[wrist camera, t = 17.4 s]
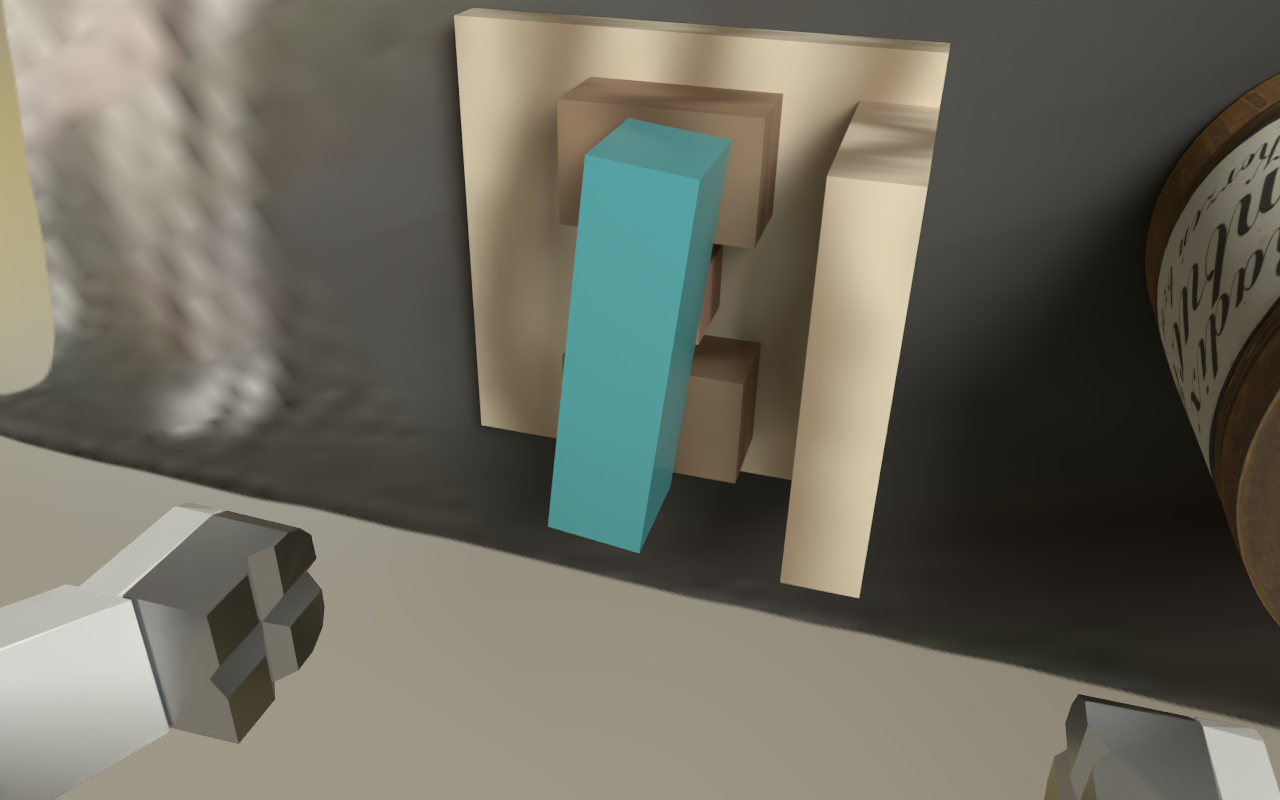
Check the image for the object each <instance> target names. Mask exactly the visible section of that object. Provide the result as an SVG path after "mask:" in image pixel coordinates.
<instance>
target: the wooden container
mask: <svg viewBox="0 0 1280 800" xmlns="http://www.w3.org/2000/svg"><path fill="white" fill-rule="evenodd" d="M1145 273H1146V282H1147V288H1148V293H1149V297H1150V301H1151V305H1152V309H1153V312H1154V316H1155V319H1156V323H1157V326H1158V329H1159V333H1160V337H1161V341H1162V344H1163V347H1164V351H1165V354H1166V357H1167V360H1168V363H1169V367H1170V370H1171V373H1172V376H1173V379H1174V382H1175V384H1176V387H1177V390H1178V392H1179V395H1180V397H1181V400H1182V403H1183V405H1184V408H1185V411H1186V413H1187V416H1188V418H1189V421H1190V423H1191V426H1192V428H1193V430H1194V432H1195V435H1196V437H1197V440H1198V443H1199V445H1200V448H1201V450H1202V453H1203V456H1204V459H1205V461H1206V464H1207V467H1208V469H1209V472H1210V474H1211V477H1212V479H1213V482H1214V485H1215V487H1216V490H1217V492H1218V494H1219V497H1220V499H1221V502H1222V504H1223V508H1224V511H1225V515H1226V518H1227V521H1228V524H1229V527H1230V530H1231V533H1232V536H1233V539H1234V542H1235V545H1236V547H1237V550H1238V552H1239V555H1240V558H1241V560H1242V563H1243V565H1244V567H1245V570H1246V572H1247V574H1248V576H1249V578H1250V580H1251V582H1252V584H1253V586H1254V588H1255V590H1256V592H1257V594H1258V596H1259V598H1260V599H1261V601H1262V603H1263V604H1264V606H1265V607H1266V609H1267V610H1268V612H1269V613H1270V614H1271V616H1272V617H1273V619H1274V620H1275V621H1276V622H1277V623H1278V625H1279V626H1280V74H1278V75H1276V76H1274V77H1272V78H1270V79H1269V80H1267V81H1265V82H1263V83H1262V84H1260V85H1259V86H1257V87H1256V88H1254V89H1252V90H1251V91H1249V92H1248V93H1247V94H1245V95H1244V96H1243V97H1241V98H1240V99H1239V100H1237V101H1236V102H1235V103H1234V104H1232V105H1231V106H1230V107H1229V108H1227V109H1226V110H1225V111H1224V112H1223V113H1221V114H1220V115H1219V116H1218V117H1217V118H1216V119H1215V120H1214V121H1213V122H1212V123H1211V124H1210V125H1209V126H1208V127H1207V128H1206V129H1205V130H1204V131H1203V132H1202V133H1201V134H1200V135H1199V136H1198V137H1197V138H1196V139H1195V141H1194V142H1193V143H1192V145H1191V146H1190V147H1189V148H1188V150H1187V151H1186V152H1185V153H1184V155H1183V156H1182V157H1181V158H1180V160H1179V161H1178V163H1177V164H1176V166H1175V168H1174V169H1173V171H1172V172H1171V174H1170V176H1169V177H1168V179H1167V181H1166V183H1165V185H1164V187H1163V189H1162V191H1161V193H1160V195H1159V198H1158V200H1157V202H1156V205H1155V208H1154V211H1153V214H1152V218H1151V222H1150V227H1149V231H1148V237H1147V243H1146V251H1145Z"/></svg>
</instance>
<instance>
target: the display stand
mask: <svg viewBox="0 0 1280 800" xmlns="http://www.w3.org/2000/svg"><path fill="white" fill-rule="evenodd" d="M454 22H455V37H456V52H457V67H458V82H459V97H460V111H461V126H462V141H463V156H464V171H465V186H466V201H467V216H468V231H469V246H470V260H471V275H472V290H473V305H474V320H475V335H476V350H477V365H478V380H479V394H480V409H481V424H482V425H484V426H490V427H495V428H501V429H506V430H512V431H518V432H523V433H529V434H535V435H540V436H546V437H552V438H557V430H558V420H559V411H560V401H561V391H562V381H563V371H564V361H565V351H566V341H567V331H568V321H569V311H570V301H571V291H572V281H573V271H574V261H575V251H576V241H577V231H578V221H579V211H580V201H581V191H582V181H583V171H584V161H585V154H587V153H588V152H589V151H590V150H591V149H592V148H594V147H595V146H596V145H597V144H598V143H600V142H601V141H602V140H603V139H604V138H605V137H607V136H608V135H609V134H610V133H611V132H613V131H614V130H615V129H616V128H617V127H618V126H620V125H621V124H622V123H623V122H624V121H626V120H627V119H628V118H631V119H636V120H640V121H645V122H650V123H654V124H659V125H664V126H669V127H673V128H678V129H683V130H687V131H692V132H697V133H701V134H706V135H711V136H715V137H720V138H725V139H729V140H732V141H731V146H730V152H729V158H728V163H727V169H726V175H725V180H724V186H723V192H722V197H721V203H720V209H719V214H718V220H717V226H716V231H715V237H714V243H713V248H712V254H711V260H710V265H709V271H708V277H707V282H706V288H705V294H704V299H703V305H702V311H701V316H700V322H699V328H698V333H697V339H696V345H695V350H694V356H693V362H692V367H691V373H690V379H689V384H688V390H687V396H686V401H685V407H684V413H683V418H682V424H681V430H680V435H679V441H678V447H677V452H676V458H675V464H674V469H673V472H674V473H680V474H685V475H691V476H696V477H702V478H707V479H713V480H719V481H724V482H730V483H736V480H737V478H738V475H739V472H740V471H743V472H749V473H755V474H760V475H766V476H771V477H777V478H783V479H788V480H792V484H791V493H790V502H789V510H788V519H787V528H786V536H785V545H784V554H783V562H782V571H781V580H780V582H781V583H786V584H791V585H796V586H801V587H806V588H811V589H816V590H821V591H826V592H831V593H836V594H841V595H846V596H851V597H855V598H859V595H860V589H861V583H862V577H863V571H864V565H865V559H866V553H867V548H868V542H869V536H870V530H871V524H872V518H873V512H874V506H875V500H876V494H877V488H878V482H879V476H880V470H881V464H882V458H883V452H884V446H885V440H886V434H887V428H888V422H889V416H890V410H891V404H892V398H893V392H894V386H895V380H896V374H897V368H898V362H899V356H900V350H901V344H902V338H903V332H904V326H905V320H906V314H907V308H908V302H909V296H910V290H911V284H912V278H913V272H914V266H915V260H916V254H917V248H918V242H919V236H920V230H921V224H922V218H923V212H924V206H925V200H926V194H927V188H928V181H929V175H930V168H931V162H932V155H933V149H934V142H935V136H936V129H937V123H938V116H939V110H940V103H941V97H942V91H943V85H944V79H945V73H946V67H947V61H948V55H949V49H950V43H941V42H928V41H914V40H901V39H887V38H874V37H860V36H847V35H833V34H820V33H806V32H793V31H779V30H766V29H752V28H739V27H725V26H712V25H698V24H685V23H671V22H658V21H644V20H631V19H617V18H604V17H590V16H577V15H563V14H550V13H536V12H523V11H509V10H496V9H482V8H472V9H470V10H467V11H464V12H462V13H459V14H456V15H454Z"/></svg>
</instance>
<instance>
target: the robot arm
mask: <svg viewBox="0 0 1280 800" xmlns="http://www.w3.org/2000/svg"><path fill="white" fill-rule="evenodd" d="M315 560H316V555H315V550H314V546H313V542H312V537H311V535H310V534H309V533H307V532H305V531H304V530H302V529H300V528H296V527H292V526H288V525H284V524H280V523H276V522H271V521H267V520H263V519H259V518H255V517H250V516H247V515H242V514H238V513H234V512H230V511H221V510H217V509H213V508H209V507H205V506H201V505H197V504H193V503H186V504H182V505H178V506H175V507H174V508H172V509H171V510H170V511H169V512H167V513H166V514H165V515H164V516H163V517H161V519H159V520H158V521H157V522H155V524H153V525H152V526H151V527H150V528H148V529H147V530H146V531H145V532H144V533H142V534H141V535H140V536H139V537H138V538H137V539H135V540H134V541H133V542H132V543H130V545H128V546H127V547H126V548H125V549H123V550H122V551H121V552H120V553H119V554H117V555H116V556H115V557H114V558H113V559H111V560H110V561H109V562H108V563H107V564H106V565H104V566H103V567H102V568H101V569H100V570H98V571H97V572H96V573H95V574H94V575H92V576H91V577H90V578H89V579H88V580H87V581H85V582H84V583H83V584H82V585H80V586H79V587H76V586H72V585H68V584H66V585H64V586H61V587H58V588H55V589H53V590H50V591H47V592H44V593H41V594H38V595H36V596H32V597H30V598H27V599H24V600H21V601H18V602H16V603H13V604H10V605H7V606H4V607H1V608H0V800H53V799H55V798H57V797H59V796H60V795H62V794H64V793H65V792H67V791H69V790H71V789H72V788H74V787H76V786H77V785H79V784H81V783H83V782H84V781H86V780H88V779H89V778H91V777H93V776H95V775H96V774H98V773H100V772H101V771H103V770H105V769H107V768H108V767H110V766H112V765H113V764H115V763H117V762H118V761H120V760H122V759H124V758H125V757H127V756H129V755H131V754H132V753H134V752H136V751H137V750H139V749H141V748H143V747H144V746H146V745H148V744H149V743H151V742H153V741H155V740H156V739H158V738H160V737H161V736H163V735H165V734H167V733H168V732H169V731H170V729H169V727H170V728H175V729H179V730H183V731H187V732H192V733H195V734H200V735H204V736H208V737H213V738H217V739H221V740H225V741H229V742H233V743H238V744H239V743H240V741H241V740H242V739H243V738H244V737H245V736H246V734H247V733H248V732H249V731H250V729H251V728H252V727H253V726H254V724H255V723H256V722H257V721H258V720H259V718H260V717H261V716H262V715H263V713H264V712H265V711H266V710H267V708H268V707H269V706H270V705H271V703H272V702H273V701H274V700H275V687H274V686H275V684H274V682H275V681H277V680H279V679H281V678H283V677H285V676H287V675H289V674H291V673H293V672H296V671H298V670H299V669H300V667H301V666H302V665H303V663H304V662H305V661H306V659H307V658H308V657H309V656H310V654H311V653H312V651H313V650H314V647H315V645H316V642H317V640H318V637H319V634H320V632H321V630H322V627H323V617H324V602H323V595H322V589H321V588H320V587H319V586H318V584H317V583H316V582H315V581H314V579H313V578H312V577H311V576H310V574H309V573H308V572H307V570H308V569H309V568H310V566H311V565H312V564H313V562H314V561H315ZM1066 737H1067V750H1066V751H1063V752H1062V753H1060V754H1058V755H1056V756H1055V757H1054V760H1053V764H1052V767H1051V771H1050V774H1049V778H1048V781H1047V787H1046V794H1045V799H1044V800H1280V790H1279V787H1278V784H1277V781H1276V778H1275V774H1274V771H1273V768H1272V765H1271V762H1270V759H1269V755H1268V752H1267V749H1266V746H1265V743H1264V739H1263V738H1262V737H1261V736H1260V735H1259V733H1258V732H1257V731H1256V730H1255V729H1252V728H1247V727H1242V726H1236V725H1231V724H1226V723H1221V722H1216V721H1211V720H1206V719H1200V718H1196V717H1195V718H1193V719H1192V718H1190V717H1187V716H1183V715H1178V714H1173V713H1168V712H1163V711H1158V710H1153V709H1148V708H1144V707H1139V706H1134V705H1129V704H1124V703H1119V702H1114V701H1110V700H1105V699H1100V698H1095V697H1090V696H1085V695H1080V694H1078V696H1077V697H1076V699H1075V700H1074V702H1073V703H1072V705H1071V708H1070V711H1069V714H1068V717H1067V720H1066Z"/></svg>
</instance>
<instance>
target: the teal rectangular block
mask: <svg viewBox="0 0 1280 800" xmlns="http://www.w3.org/2000/svg"><path fill="white" fill-rule="evenodd" d="M731 141H732V140H729V139H725V138H720V137H715V136H711V135H706V134H701V133H697V132H692V131H687V130H683V129H678V128H673V127H669V126H664V125H659V124H654V123H650V122H645V121H640V120H636V119H631V118H628V119H627V120H626V121H624V122H623V123H622V124H621V125H620V126H618V127H617V128H616V129H615V130H614V131H613V132H611V133H610V134H609V135H608V136H607V137H605V138H604V139H603V140H602V141H601V142H600V143H598V144H597V145H596V146H595V147H594V148H592V149H591V150H590V151H589V152H588V153H587V154H585V161H584V171H583V181H582V191H581V201H580V211H579V221H578V231H577V241H576V251H575V261H574V271H573V281H572V291H571V301H570V311H569V321H568V331H567V341H566V351H565V361H564V371H563V381H562V391H561V401H560V411H559V420H558V430H557V440H556V450H555V460H554V470H553V480H552V490H551V500H550V510H549V520H548V527H551V528H555V529H558V530H561V531H565V532H568V533H572V534H575V535H578V536H582V537H585V538H589V539H592V540H596V541H599V542H602V543H606V544H609V545H613V546H616V547H619V548H623V549H626V550H630V551H633V552H637V553H640V550H641V548H642V546H643V544H644V542H645V540H646V538H647V535H648V533H649V531H650V529H651V527H652V525H653V523H654V521H655V518H656V516H657V514H658V512H659V510H660V508H661V506H662V504H663V501H664V499H665V497H666V495H667V493H668V491H669V489H670V486H671V481H672V475H673V469H674V464H675V458H676V452H677V447H678V441H679V435H680V430H681V424H682V418H683V413H684V407H685V401H686V396H687V390H688V384H689V379H690V373H691V367H692V362H693V356H694V350H695V345H696V339H697V333H698V328H699V322H700V316H701V311H702V305H703V299H704V294H705V288H706V282H707V277H708V271H709V265H710V260H711V254H712V248H713V243H714V237H715V231H716V226H717V220H718V214H719V209H720V203H721V197H722V192H723V186H724V180H725V175H726V169H727V163H728V158H729V152H730V146H731Z"/></svg>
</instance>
